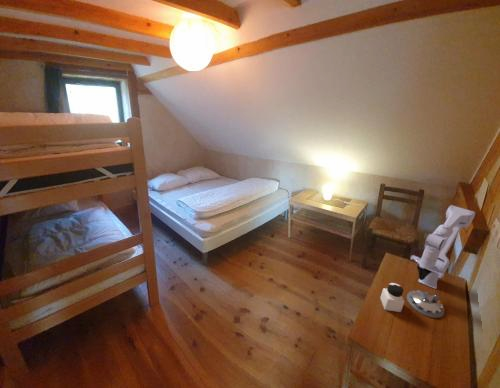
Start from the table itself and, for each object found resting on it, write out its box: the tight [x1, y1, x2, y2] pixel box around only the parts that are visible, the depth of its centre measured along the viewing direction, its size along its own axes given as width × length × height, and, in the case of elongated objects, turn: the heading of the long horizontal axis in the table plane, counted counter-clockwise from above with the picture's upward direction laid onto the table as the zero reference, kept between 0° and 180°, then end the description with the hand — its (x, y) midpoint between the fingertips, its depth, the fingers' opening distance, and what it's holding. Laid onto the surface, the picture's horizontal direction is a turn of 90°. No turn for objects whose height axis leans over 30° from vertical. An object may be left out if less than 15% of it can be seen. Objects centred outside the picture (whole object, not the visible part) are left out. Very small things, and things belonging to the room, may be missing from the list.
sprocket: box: [409, 289, 444, 314], centre depth 110 cm, size 13×13×5 cm
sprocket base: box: [405, 290, 445, 319], centre depth 112 cm, size 15×15×1 cm
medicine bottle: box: [380, 282, 405, 313], centre depth 109 cm, size 7×7×12 cm
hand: (421, 278), depth 115 cm, fingers closed
